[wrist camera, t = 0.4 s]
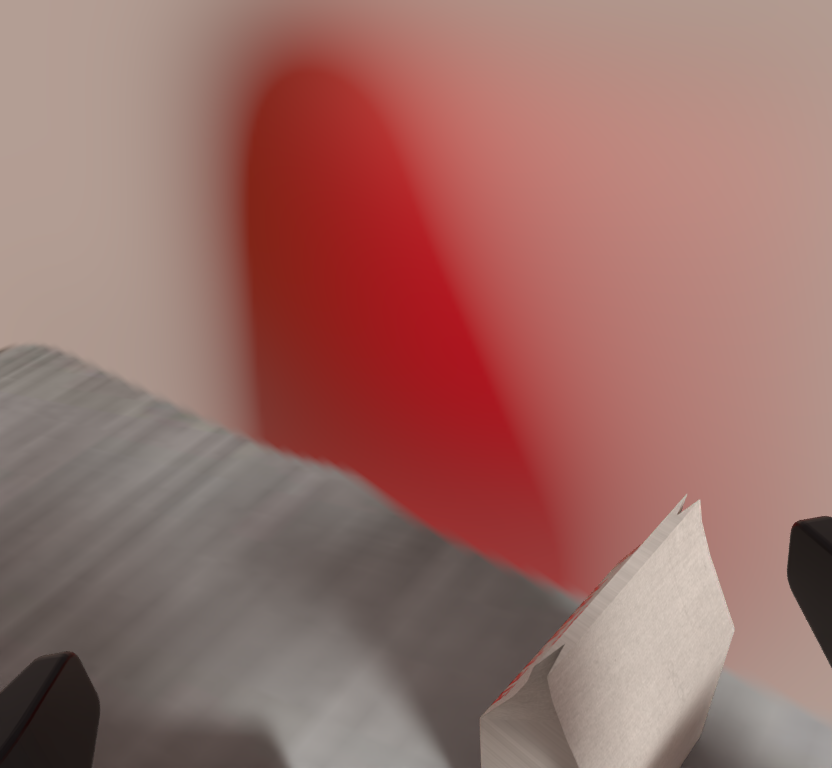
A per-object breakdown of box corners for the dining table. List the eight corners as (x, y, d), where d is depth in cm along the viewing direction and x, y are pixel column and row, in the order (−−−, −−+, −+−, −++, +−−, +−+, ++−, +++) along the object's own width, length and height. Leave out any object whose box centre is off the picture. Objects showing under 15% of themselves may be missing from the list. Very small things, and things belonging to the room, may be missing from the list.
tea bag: (700, 736, 25) (765, 531, 19) (584, 912, 21) (618, 730, 15) (603, 668, 27) (634, 465, 21) (482, 818, 23) (476, 624, 17)
